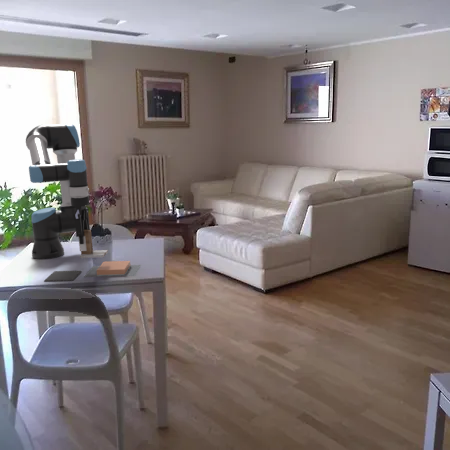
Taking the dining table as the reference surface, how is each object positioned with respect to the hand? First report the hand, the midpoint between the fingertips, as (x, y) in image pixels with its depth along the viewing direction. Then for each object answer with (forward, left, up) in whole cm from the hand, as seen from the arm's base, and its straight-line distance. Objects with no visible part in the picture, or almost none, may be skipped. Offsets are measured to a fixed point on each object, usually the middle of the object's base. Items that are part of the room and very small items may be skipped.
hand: (84, 249), depth 204 cm
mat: (0, +12, -11) cm, 16 cm away
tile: (0, +6, -9) cm, 11 cm away
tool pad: (+6, -8, -11) cm, 15 cm away
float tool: (0, +4, -3) cm, 5 cm away
